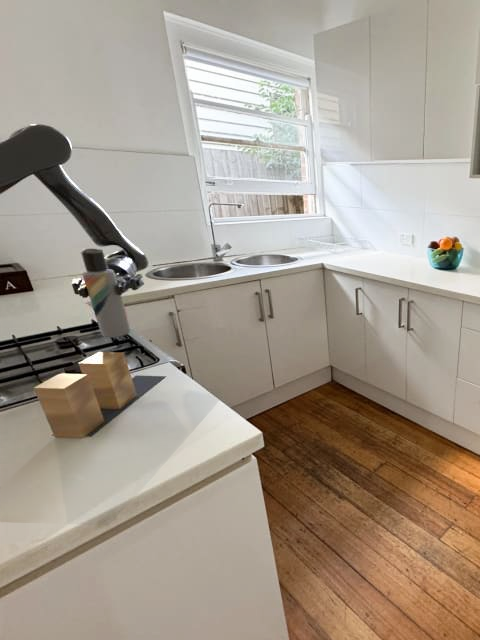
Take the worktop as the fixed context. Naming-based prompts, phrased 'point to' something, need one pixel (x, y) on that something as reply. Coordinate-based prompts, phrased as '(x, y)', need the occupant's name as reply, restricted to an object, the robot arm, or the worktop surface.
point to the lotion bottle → (104, 294)
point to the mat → (141, 387)
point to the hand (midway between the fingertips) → (101, 292)
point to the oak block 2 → (109, 379)
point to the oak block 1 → (70, 405)
